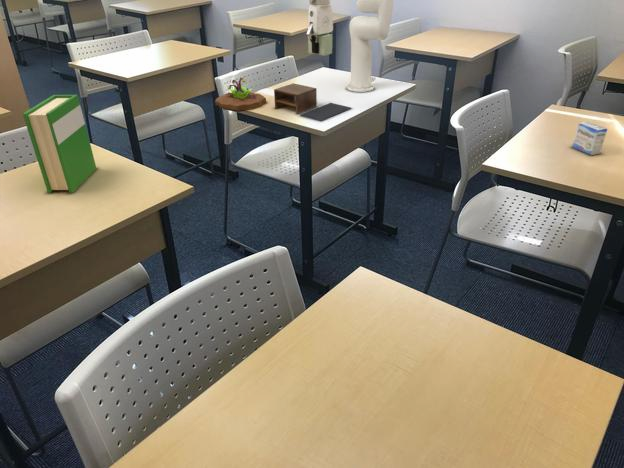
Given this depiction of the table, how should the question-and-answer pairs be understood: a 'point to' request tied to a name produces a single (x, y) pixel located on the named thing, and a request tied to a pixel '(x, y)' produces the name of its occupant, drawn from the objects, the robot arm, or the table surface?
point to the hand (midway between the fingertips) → (320, 51)
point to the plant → (240, 98)
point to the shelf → (296, 97)
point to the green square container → (322, 44)
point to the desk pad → (325, 111)
